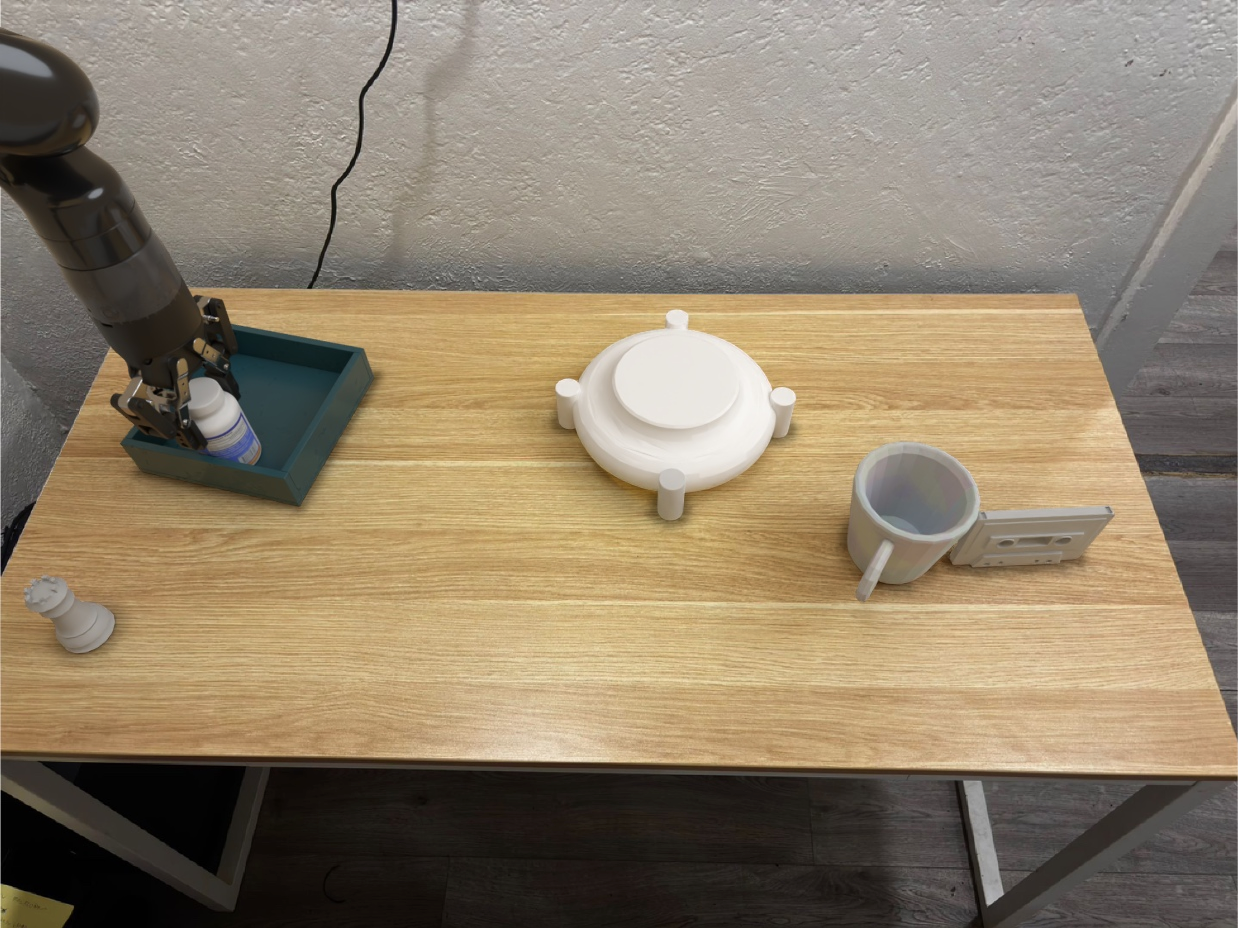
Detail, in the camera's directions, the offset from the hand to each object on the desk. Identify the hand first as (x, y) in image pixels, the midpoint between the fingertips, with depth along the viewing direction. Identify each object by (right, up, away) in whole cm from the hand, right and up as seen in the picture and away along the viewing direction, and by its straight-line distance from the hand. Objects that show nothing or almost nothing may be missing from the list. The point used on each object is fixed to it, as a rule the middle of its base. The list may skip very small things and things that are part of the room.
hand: (214, 421), depth 80 cm
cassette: (+75, -13, -3) cm, 77 cm away
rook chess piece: (-8, -19, -6) cm, 21 cm away
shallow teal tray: (+1, 0, +8) cm, 8 cm away
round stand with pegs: (+45, 0, +7) cm, 45 cm away
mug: (+63, -14, -3) cm, 64 cm away
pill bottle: (0, -3, +5) cm, 6 cm away
